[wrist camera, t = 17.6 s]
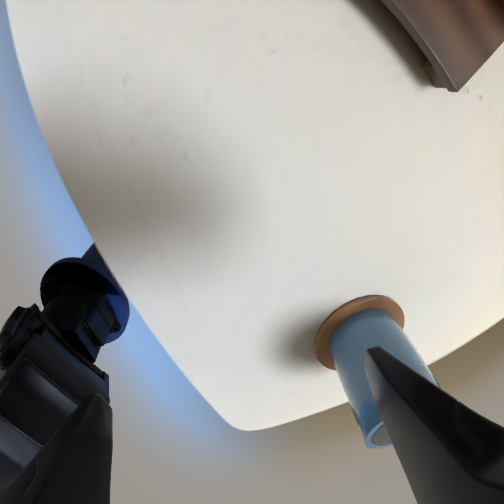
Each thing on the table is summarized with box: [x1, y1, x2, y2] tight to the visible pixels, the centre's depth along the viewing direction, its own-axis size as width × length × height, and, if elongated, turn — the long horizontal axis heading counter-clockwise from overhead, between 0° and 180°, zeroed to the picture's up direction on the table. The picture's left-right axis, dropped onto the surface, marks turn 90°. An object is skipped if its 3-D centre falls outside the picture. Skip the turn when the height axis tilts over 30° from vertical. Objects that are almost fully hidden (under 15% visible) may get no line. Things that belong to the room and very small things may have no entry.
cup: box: [329, 309, 441, 448], centre depth 21 cm, size 7×7×10 cm
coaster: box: [315, 295, 404, 371], centre depth 26 cm, size 9×9×1 cm
